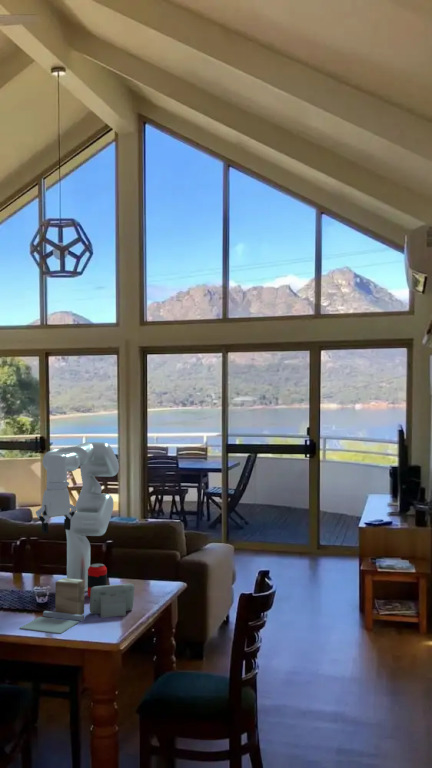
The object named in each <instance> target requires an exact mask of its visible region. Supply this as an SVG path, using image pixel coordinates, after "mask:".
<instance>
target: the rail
mask: <svg viewBox="0 0 432 768" xmlns="http://www.w3.org/2000/svg"><path fill="white" fill-rule="evenodd" d="M42 617H46V618H54V619H63V620H71V621H79V622H81V621H82V622H83V621H84V620H85V614H83V615H78V614H69V613H60V612H55V611H50V610H44V611H43V612H42Z"/></svg>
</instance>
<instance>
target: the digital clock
mask: <svg viewBox="0 0 432 768" xmlns="http://www.w3.org/2000/svg"><path fill="white" fill-rule="evenodd" d="M134 597H135V584H133V583H123V584H121V583H119V584H110V585H108V584H107V586H95V587H92V588H91V592H90V597H89V612H90V614H92V615H93V614H95V615H96V614H99V616H100V618H101V619H102V618H103V619H104V618H111V617H122V616H123V617H124V616H126V613H127V612H128V611H131V610H132V611H133V608H134Z"/></svg>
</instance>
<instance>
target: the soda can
mask: <svg viewBox="0 0 432 768" xmlns="http://www.w3.org/2000/svg"><path fill="white" fill-rule="evenodd" d="M107 585H108V567H106V565H105V563H104V564H103V563H92V564H90V567H89V568H88V591H87V597H89V598H90V592H91V588H92V587H95V586H107Z"/></svg>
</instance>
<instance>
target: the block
mask: <svg viewBox="0 0 432 768" xmlns="http://www.w3.org/2000/svg"><path fill="white" fill-rule="evenodd" d="M54 598H55V599H54V600H55V601H54V602H55V609H54V612H60V613H69V614H78V615H85V592H84V580H78V579H67V577H64V578H60V579H58V580H56V581H55V597H54Z"/></svg>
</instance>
